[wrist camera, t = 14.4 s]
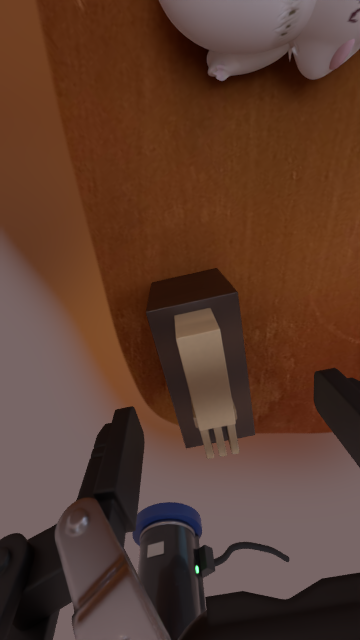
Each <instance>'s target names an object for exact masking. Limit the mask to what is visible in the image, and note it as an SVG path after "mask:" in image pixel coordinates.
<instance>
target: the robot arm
mask: <svg viewBox="0 0 360 640" xmlns="http://www.w3.org/2000/svg"><path fill="white" fill-rule="evenodd" d="M314 403H315V406H316V409H317V411H318V412H319V414H320V415H321V417H322V418H323V419H324V421H325V422H326V423H327V425H328V426H329V427H330V429H331V430H332V431H333V433H334V434H335V435H336V436H337V438H338V439H339V441H340V442H341V443H342V445H343V446H344V447H345V449H346V450H347V451H348V453H349V454H350V455H351V457H352V458H353V459H354V460H355V462H356V463H357V465H358V466H359V467H360V381H358V380H356V379H354V378H346V377H345V376H344V375H343V374H342V373H341V372H340V371H339V370H337V369H336V368H331V369H326V370H320V371H316V372H315V374H314ZM143 453H144V434H143V430H142V427H141V425H140V422H139V419H138V416H137V414H136V411H135V409H134V407H126V408H122V409H117V410H115V413H114V416H113V420H112V423H108V424H105V425H104V427H103V428H102V429H101V431H100V432H99V434H98V435H97V438H96V441H95V444H94V449H93V451H92V454H91V459H90V460H89V463H88V466H87V470H86V473H85V476H84V479H83V482H82V486H81V488H80V492H79V495H78V498H77V500H76V502H74V503H73V504H71V505H70V506H69V507H68V508H67V509H66V510H65V511H64V513H63V514H62V516H61V517H60V519H59V521H58V523H57V524H56V525H54V526H52V527H51V528H49V529H47V530H45V531H43V532H41V533H39V534H38V535H36V536H34V537H32V538H30V539H28V540H27V539H26V538H25V537H24V536H23V535H22V534H20V533H14V534H10V535H8V536H6V537H4V538H2V539H1V540H0V640H53V636H54V632H55V628H56V624H57V619H58V615H59V611H60V609H61V608H63V607H64V606H66V605H67V604H69V603H71V602H73V606H74V614H73V616H72V626H73V630H74V635H75V639H76V640H360V573H355V574H348V575H342V576H336V577H329V578H323V579H321V580H319V581H318V582H316V583H314V584H312V585H311V586H309V587H308V588H306V589H304V590H303V591H301V592H299V593H298V594H296V595H295V596H293V597H291V598H290V599H286V600H284V599H278V598H273V597H268V596H264V595H258V594H254V593H249V592H244V591H241V592H234V593H228V594H222V595H215V596H209V597H205V598H206V608H207V610H206V608H205V598H204V587H203V578H204V577H205V576H207V575H209V574H211V573H212V572H214V571H215V566H218V565H220V564H222V563H223V562H225V561H226V560H227V559H228V558H229V556H230V555H231V553H232V552H233V551H235V550H238V549H255V550H260V551H264V552H269V553H272V554H274V555H276V556H278V557H280V558H281V559H283V560H284V561H286V562H289V557H288V556H286V555H284V554H283V553H281V552H280V551H278V550H276V549H274V548H272V547H269V546H265V545H261V544H257V543H251V542H239V543H235V544H232V545H231V546H229V547H228V549H227V550H226V551H225V553H224V554H223V555H222V556H220V557H218V558H216V559H214V558H213V550H212V548H210V547H208V546H206V545H203V546H202V547H199V536H198V534H196V533H195V531H194V528H193V527H192V526H191V525H190V524H189V523H187V522H185V521H182V520H178V519H161V520H157V521H154V522H151V523H149V524H148V525H146V526H145V527H144V528H143V529H142V530H141V533H140V549H139V562H138V574H137V573H136V571H135V569H134V567H133V565H132V563H131V561H130V559H129V557H128V555H127V553H126V551H125V549H124V541H125V533H127V532H133V531H136V521H137V511H138V501H139V492H140V482H141V473H142V463H143Z"/></svg>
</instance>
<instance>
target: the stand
mask: <svg viewBox="0 0 360 640" xmlns="http://www.w3.org/2000/svg"><path fill="white" fill-rule="evenodd" d="M207 308H211V311H212V313H213V315H214V317H215V319H216V322H217V324H218V326H219V328H220V332H221V338H222V344H223V350H224V356H225V362H226V368H227V373H228V379H229V385H230V391H231V397H232V400H233V403H234V406H235V409H236V414H237V420H235V421H236V424H235V429H236V435H237V438H242V437H247V436H252V435H255V430H254V421H253V413H252V405H251V397H250V389H249V381H248V372H247V364H246V356H245V348H244V340H243V332H242V323H241V315H240V307H239V299H238V292H237V291H236V290H235V288H234V287H233V286H232V285H231V284H230V283H229V282H228V280H227V279H226V278H225V277H224V276H223V275H222V273H221V272H220V271H219V270H218V269H217V268H215V269H211V270H206V271H202V272H197V273H193V274H188V275H184V276H180V277H175V278H171V279H166V280H162V281H157V282H153V283H152V284H151V289H150V294H149V299H148V304H147V309H146V315H147V318H148V321H149V325H150V328H151V331H152V335H153V338H154V342H155V345H156V348H157V352H158V355H159V358H160V362H161V365H162V369H163V372H164V375H165V379H166V382H167V386H168V389H169V392H170V396H171V399H172V402H173V406H174V409H175V413H176V416H177V419H178V423H179V426H180V429H181V433H182V436H183V440H184V443H185V445H186V448H190V447H196V446H201V445H204V444H203V440H202V437H201V433H200V430H199V427H198V428H196V426H195V423H194V419H193V412H192V404H191V396H190V392H189V388H188V384H187V380H186V376H185V373H184V369H183V365H182V361H181V357H180V353H179V349H178V345H177V341H176V333H175V319H174V316H175V315H180V314H184V313H189V312H193V311H198V310H202V309H207ZM221 428H222V432H223V437H224V441H226V440H228V436H227V431H226V426H222V427H221ZM209 433H210V437H211V441H212V443H216V438H215V434H214V429H209Z"/></svg>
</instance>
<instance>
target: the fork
mask: <svg viewBox="0 0 360 640" xmlns="http://www.w3.org/2000/svg"><path fill="white" fill-rule="evenodd" d="M174 319H175V333H176V341H177V345H178V349H179V353H180V357H181V361H182V365H183V369H184V373H185V376H186V380H187V384H188V388H189V392H190V396H191V404H192V412H193V419H194V423H195V426H196V428H198V427H199V430H200V433H201V437H202V440H203V444H204V448H205V452H206V456H207V459H211V458H214V452H213V447H212V441H211V437H210V433H209V429H214V434H215V438H216V443H217V447H218V451H219V456H220V457H221V456H226V455H227V453H226V447H225V443H224V437H223V432H222V428H221V427H222V426H226V431H227V436H228V441H229V444H230V448H231V452H232V454H236V453H239V446H238V440H237V435H236V429H235V424H236V421H235V420H237V414H236V409H235V406H234V403H233V400H232V397H231V391H230V385H229V379H228V373H227V368H226V362H225V356H224V350H223V344H222V338H221V332H220V328H219V326H218V324H217V322H216V319H215V317H214V315H213V313H212V311H211V308H207V309H202V310H198V311H193V312H189V313H184V314H180V315H175V316H174Z"/></svg>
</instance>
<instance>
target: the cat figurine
mask: <svg viewBox="0 0 360 640" xmlns="http://www.w3.org/2000/svg"><path fill="white" fill-rule="evenodd" d="M159 2H160V4H161V6H162V8H163V10H164V12H165V13H166V15H167V17H168V18H169V19H170V21H171V22H172V23H173V25H174V26H175V27H176V28H177V29H178V30H179V31H180V32H181V33H182V34H183V35H185V36H186V37H187V38H188V39H190V40H191V41H193V42H194V43H196V44H198V45H199V46H201V47H203V48H206V49H208V50H209V52H208V54H207V65H208V67H209V69H208V75H209V76H213V77H216V79H218V80H220V81H224V80H225V79H227V78H228V77H229V76H233V75H241V74H246V73H250V72H253V71H256V70H259V69H261V68H264V67H266V66H268V65H270V64H272V63H273V62H275V61H277V60H278V59H280V58H281V57H282V56H283V55H285V54H286V53H287V52H288V53H289V62H290V59H291V54H292V53H293V55H294V58H295V61H296V64H297V67H298V69H299V71H300V72H301V74H302V75H303V76H305V77H306V78H308V79H311V80H315V79H319V78H321V77H323V76H325V75H327V74H328V73H330V72H331V71H333V70H334V69H336V68H338V67H339V66H340V65H341V64H343V63H344V62H345V61H347V60H348V59H349V58H350V57H351V56H352V55H354V54H355V53H356V52H357V51H358V50H359V49H360V0H159Z"/></svg>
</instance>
